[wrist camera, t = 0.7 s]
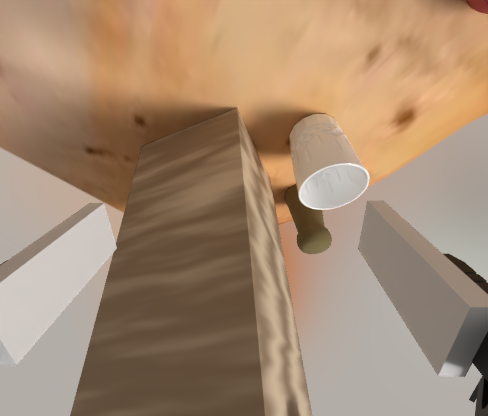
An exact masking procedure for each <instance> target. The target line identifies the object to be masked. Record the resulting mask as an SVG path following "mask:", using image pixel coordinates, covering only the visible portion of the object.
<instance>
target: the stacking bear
mask: <svg viewBox="0 0 488 416" xmlns="http://www.w3.org/2000/svg"><path fill="white" fill-rule="evenodd" d="M468 2H469V4H470V6H471V7H472V8H473V9H475V10H476V11H478V12H481V13H485V14H488V0H468Z"/></svg>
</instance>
